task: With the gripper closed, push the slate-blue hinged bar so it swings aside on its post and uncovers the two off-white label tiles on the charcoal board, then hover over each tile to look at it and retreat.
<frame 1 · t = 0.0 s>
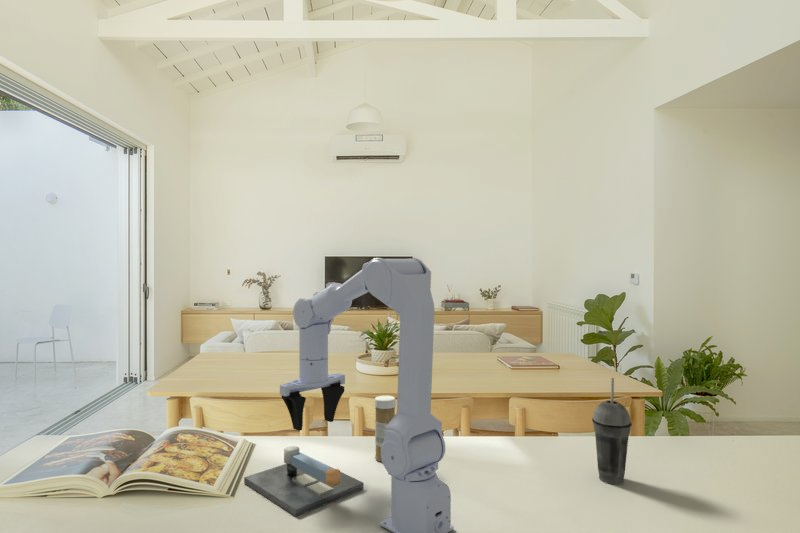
hand: (313, 424, 104), 10 cm above the kitchen counter, tool pointing down, fingers open, 7 cm apart
beverage cup: (611, 480, 102), on the kitchen counter
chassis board: (303, 486, 99), on the kitchen counter
sprinkles bottle: (385, 459, 113), on the kitchen counter
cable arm: (311, 464, 97), point 5 cm above the kitchen counter, hinge at 0.0°
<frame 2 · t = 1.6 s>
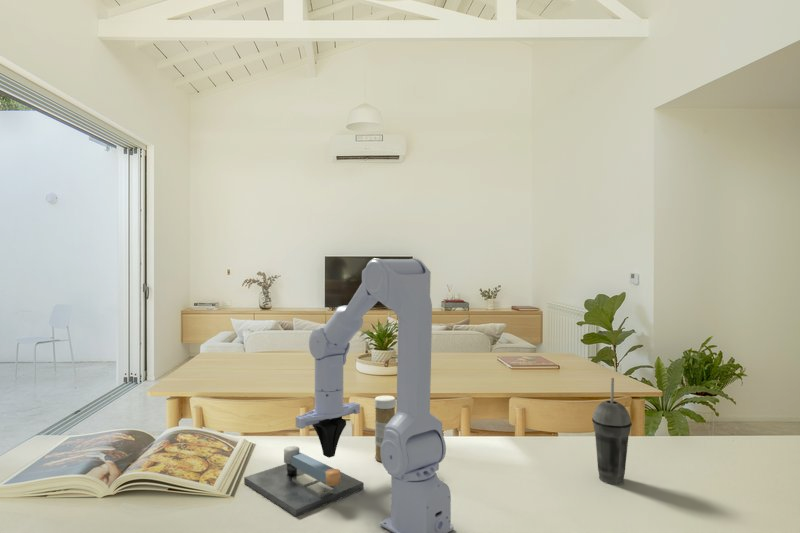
hand: (328, 455, 104), 4 cm above the kitchen counter, tool pointing down, fingers closed
nothing on the kitchen counter moved.
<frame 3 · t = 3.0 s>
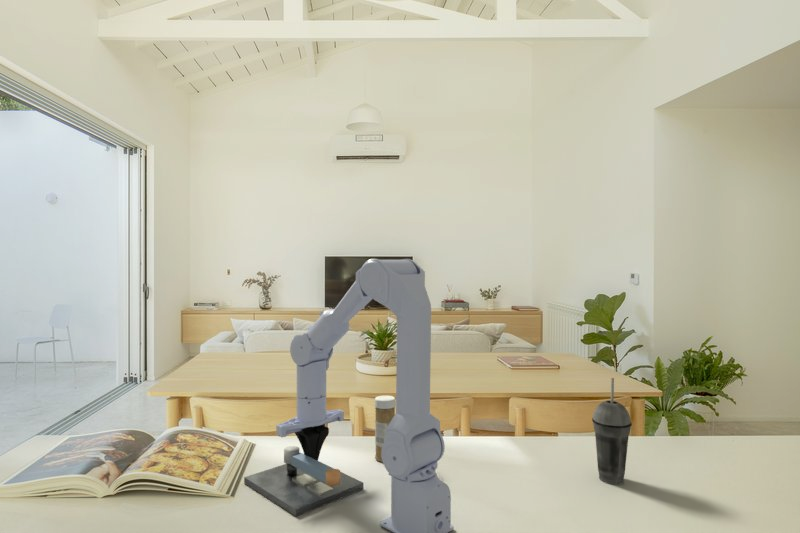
hand: (311, 464, 101), 3 cm above the kitchen counter, tool pointing down, fingers closed, pressing on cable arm
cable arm: (311, 464, 97), point 5 cm above the kitchen counter, hinge at 0.0°, touching gripper
everything else where it was.
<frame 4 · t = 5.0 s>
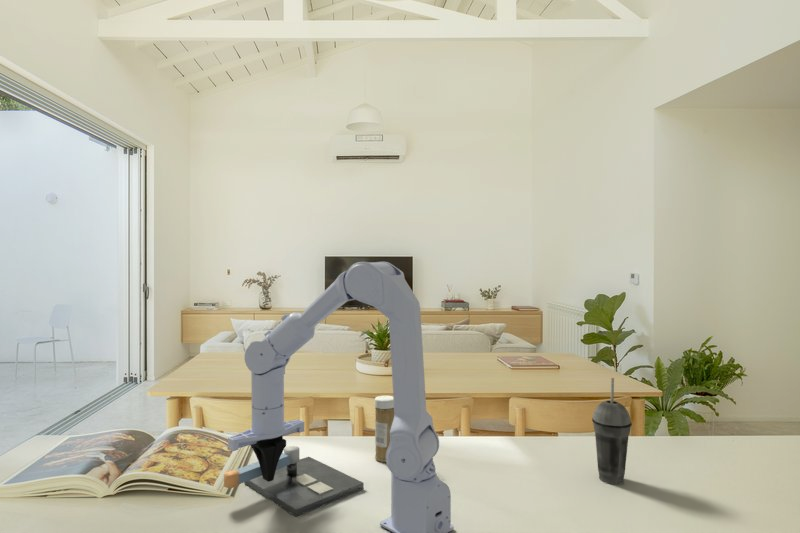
hand: (268, 479, 94), 3 cm above the kitchen counter, tool pointing down, fingers closed
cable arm: (263, 465, 97), point 5 cm above the kitchen counter, hinge at 83.6°, touching gripper
everything else where it was.
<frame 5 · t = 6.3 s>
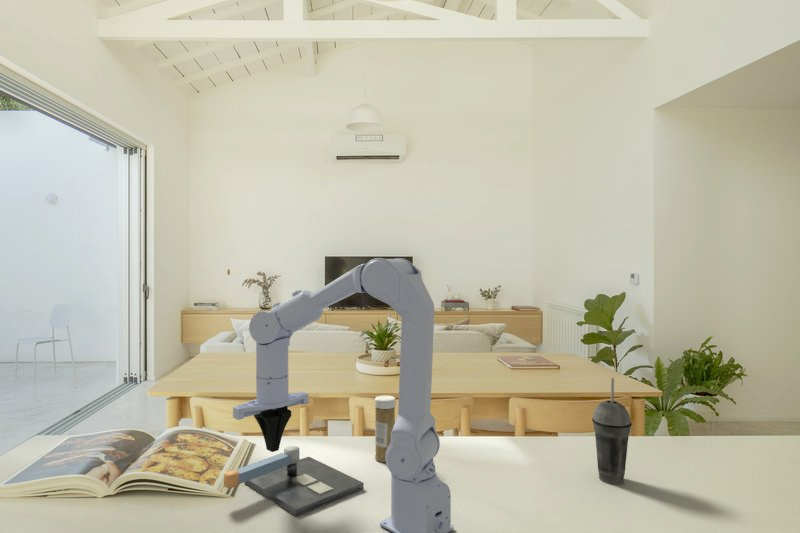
hand: (272, 449, 95), 9 cm above the kitchen counter, tool pointing down, fingers closed
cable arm: (263, 465, 97), point 5 cm above the kitchen counter, hinge at 83.7°
everything else where it was.
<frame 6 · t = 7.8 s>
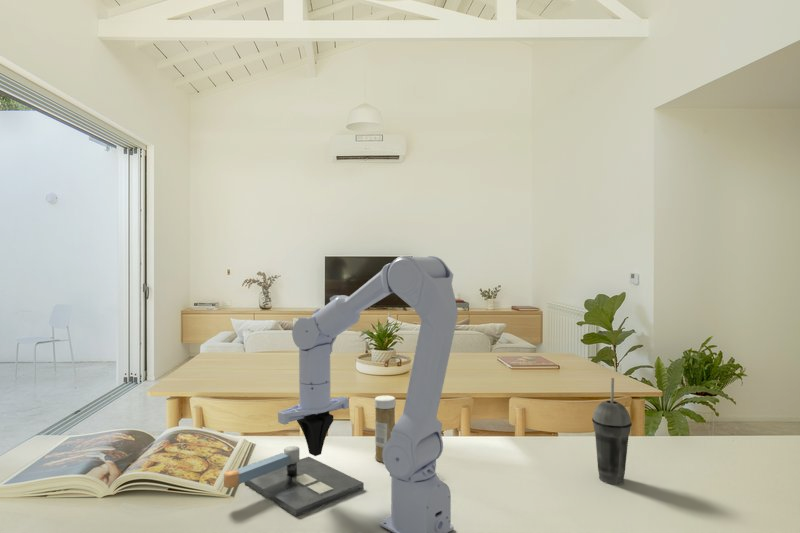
hand: (315, 453, 96), 7 cm above the kitchen counter, tool pointing down, fingers closed
nothing on the kitchen counter moved.
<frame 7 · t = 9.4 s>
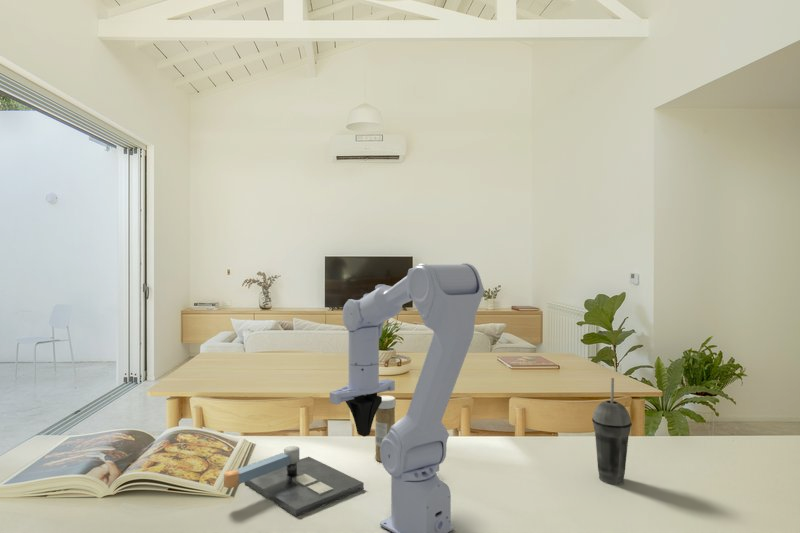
hand: (363, 434, 98), 10 cm above the kitchen counter, tool pointing down, fingers closed
nothing on the kitchen counter moved.
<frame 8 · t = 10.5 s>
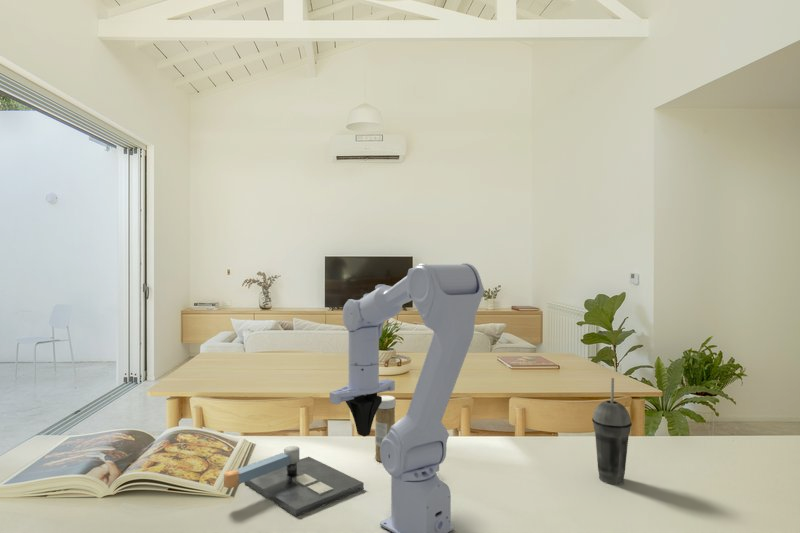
hand: (363, 434, 98), 10 cm above the kitchen counter, tool pointing down, fingers closed
nothing on the kitchen counter moved.
at the end: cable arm at +84° (first picture: +0°); sprinkles bottle moved 0.2 cm from its start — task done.
